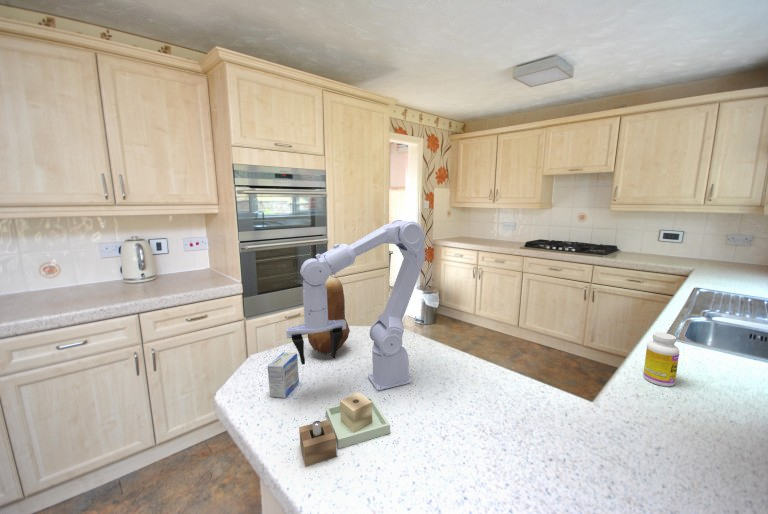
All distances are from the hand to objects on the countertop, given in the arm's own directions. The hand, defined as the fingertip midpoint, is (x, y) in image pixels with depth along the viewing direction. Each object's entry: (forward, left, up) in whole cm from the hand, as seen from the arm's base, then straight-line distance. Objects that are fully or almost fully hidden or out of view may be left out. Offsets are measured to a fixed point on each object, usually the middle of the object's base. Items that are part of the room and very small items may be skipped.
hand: (318, 359), depth 83 cm
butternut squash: (-8, -23, -10) cm, 26 cm away
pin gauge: (+4, +20, -9) cm, 22 cm away
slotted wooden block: (+4, +20, -9) cm, 22 cm away
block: (-5, +15, -9) cm, 18 cm away
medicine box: (+8, -6, -10) cm, 14 cm away
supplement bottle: (-85, +31, -10) cm, 91 cm away
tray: (-5, +15, -9) cm, 18 cm away
